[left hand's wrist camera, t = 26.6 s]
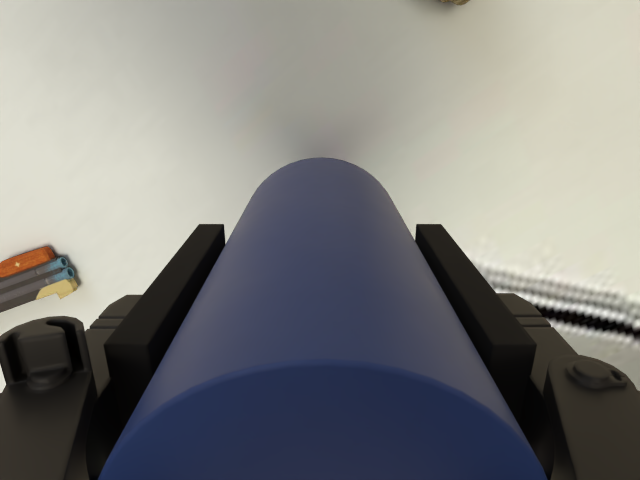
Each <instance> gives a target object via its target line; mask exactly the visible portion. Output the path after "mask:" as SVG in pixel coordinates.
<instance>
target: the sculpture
mask: <svg viewBox="0 0 640 480" xmlns="http://www.w3.org/2000/svg"><path fill="white" fill-rule="evenodd" d="M440 1H442V2H448V1H451V2H453V3H454V4H457V5H463V4H465V3H467V2H468V1H469V0H440Z"/></svg>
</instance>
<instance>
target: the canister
mask: <svg viewBox="0 0 640 480" xmlns="http://www.w3.org/2000/svg"><path fill="white" fill-rule="evenodd" d="M98 480H547V477H546V475H545V472H544V469H543V467H542V465H541V464H540V462H539V460H538V458H537V456H536V455H535V453H534V451H533V449H532V448H531V446H530V444H529V442H528V440H527V439H526V437H525V435H524V433H523V432H522V430H521V428H520V426H519V425H518V423H517V421H516V419H515V417H514V416H513V414H512V412H511V410H510V409H509V407H508V405H507V403H506V401H505V400H504V398H503V396H502V394H501V393H500V391H499V389H498V387H497V386H496V384H495V382H494V380H493V378H492V377H491V375H490V373H489V371H488V370H487V368H486V366H485V364H484V363H483V361H482V359H481V357H480V355H479V354H478V352H477V350H476V348H475V347H474V345H473V343H472V341H471V339H470V338H469V336H468V334H467V332H466V331H465V329H464V327H463V325H462V324H461V322H460V320H459V318H458V316H457V315H456V313H455V311H454V309H453V308H452V306H451V304H450V302H449V300H448V299H447V297H446V295H445V293H444V292H443V290H442V288H441V286H440V285H439V283H438V281H437V279H436V277H435V276H434V274H433V272H432V270H431V269H430V267H429V265H428V263H427V261H426V260H425V258H424V256H423V254H422V253H421V251H420V249H419V247H418V246H417V244H416V242H415V240H414V238H413V237H412V235H411V233H410V231H409V230H408V228H407V226H406V224H405V223H404V221H403V219H402V217H401V215H400V214H399V212H398V210H397V208H396V207H395V205H394V203H393V201H392V199H391V198H390V196H389V195H388V193H387V191H386V190H385V189H384V187H383V186H382V185H381V184H380V182H379V181H377V180H376V179H375V178H374V177H373V176H372V175H371V174H369V173H368V172H366V171H365V170H364V169H362V168H360V167H358V166H356V165H354V164H351V163H349V162H346V161H343V160H338V159H333V158H309V159H304V160H300V161H296V162H293V163H290V164H288V165H286V166H284V167H282V168H280V169H279V170H277V171H276V172H274V173H273V174H271V175H270V176H269V177H268V178H267V179H266V180H264V181H263V183H262V184H261V185H260V186H259V187H258V188H257V190H256V191H255V193H254V194H253V196H252V198H251V199H250V201H249V203H248V205H247V207H246V209H245V210H244V212H243V214H242V216H241V218H240V219H239V221H238V223H237V225H236V227H235V228H234V230H233V232H232V234H231V236H230V238H229V239H228V241H227V243H226V245H225V247H224V248H223V250H222V252H221V254H220V256H219V257H218V259H217V261H216V263H215V265H214V267H213V268H212V270H211V272H210V274H209V276H208V277H207V279H206V281H205V283H204V285H203V286H202V288H201V290H200V292H199V294H198V296H197V297H196V299H195V301H194V303H193V305H192V306H191V308H190V310H189V312H188V314H187V316H186V317H185V319H184V321H183V323H182V325H181V326H180V328H179V330H178V332H177V334H176V335H175V337H174V339H173V341H172V343H171V345H170V346H169V348H168V350H167V352H166V354H165V355H164V357H163V359H162V361H161V363H160V364H159V366H158V368H157V370H156V372H155V374H154V375H153V377H152V379H151V381H150V383H149V384H148V386H147V388H146V390H145V392H144V394H143V395H142V397H141V399H140V401H139V403H138V404H137V406H136V408H135V410H134V412H133V413H132V415H131V417H130V419H129V421H128V423H127V424H126V426H125V428H124V430H123V432H122V433H121V435H120V437H119V439H118V441H117V442H116V444H115V446H114V448H113V450H112V452H111V453H110V455H109V457H108V459H107V461H106V462H105V465H104V467H103V469H102V471H101V474H100V476H99V478H98Z"/></svg>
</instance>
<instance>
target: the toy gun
mask: <svg viewBox="0 0 640 480" xmlns="http://www.w3.org/2000/svg"><path fill="white" fill-rule="evenodd" d="M67 266H68V262H67V260H66V259H65V258H64V257H60V256H59V257H56V258H55V256H54V254H53V252H52V250H51V249H50V248H49V247H48V246H46V247H43V248H39V249H36V250H33V251H30V252H27V253H24V254H21V255H18V256H15V257H12V258H9V259H7V260H4V261H2V262H1V263H0V312H3V311H6V310H9V309H11V308H14V307H17V306H19V305H22V304H25V303H28V302H30V301H33V300H37V299H40V298H43V297H46V296H49V295H52V294H54V293H57V294H58V296H59V298H60V299H62V298H63V297H65V296H67V295H69V294H70V293H72V292H74V291H75V290H77V288H76V287H78V285H77V283H76V281H75V280H74V279H73V278H74V271H73V270H72V269H71V268H70V267H67ZM66 267H67V268H66Z"/></svg>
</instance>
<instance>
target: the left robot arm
mask: <svg viewBox="0 0 640 480" xmlns="http://www.w3.org/2000/svg"><path fill="white" fill-rule="evenodd" d="M415 242H416V244H417V246H418V247H419V249H420V251H421V253H422V254H423V256H424V258H425V260H426V261H427V263H428V265H429V267H430V269H431V270H432V272H433V274H434V276H435V277H436V279H437V281H438V283H439V285H440V286H441V288H442V290H443V292H444V293H445V295H446V297H447V299H448V300H449V302H450V304H451V306H452V308H453V309H454V311H455V313H456V315H457V316H458V318H459V320H460V322H461V324H462V325H463V327H464V329H465V331H466V332H467V334H468V336H469V338H470V339H471V341H472V343H473V345H474V347H475V348H476V350H477V352H478V354H479V355H480V357H481V359H482V361H483V363H484V364H485V366H486V368H487V370H488V371H489V373H490V375H491V377H492V378H493V380H494V382H495V384H496V386H497V387H498V389H499V391H500V393H501V394H502V396H503V398H504V400H505V401H506V403H507V405H508V407H509V409H510V410H511V412H512V414H513V416H514V417H515V419H516V421H517V423H518V425H519V426H520V428H521V430H522V432H523V433H524V435H525V437H526V439H527V440H528V442H529V444H530V446H531V448H532V449H533V451H534V453H535V455H536V456H537V458H538V460H539V462H540V464H541V465H542V467H543V469H544V472H545V475H546V477H547V480H640V391H637V389H636V387H635V385H634V384H633V382H632V381H631V380H630V379H629V378H628V377H627V375H626V374H624V373H623V372H621V371H620V370H618V369H617V368H615V367H614V366H612V365H610V364H608V363H605V362H603V361H601V360H598V359H595V358H591V357H587V356H583V355H578V354H577V353H576V352H575V351H574V350H573V348H572V347H571V346H570V345H569V344H568V343H567V342H566V341H565V340H564V339H563V338H562V336H561V335H560V334H559V333H558V332H557V331H556V330H555V329H554V328H553V327H551V324H550V323H549V322H548V321H547V320H546V319H545V318H544V317H542V315H541V314H540V312H539V311H538V310H537V309H536V308H535V307H534V306H533V305H532V304H531V303H530V302H528V301H526V300H524V299H523V298H521V297H519V296H517V295H516V294H514V293H496V292H495V291H494V290H493V289H492V287H491V286H490V285H489V284H488V282H487V281H486V280H485V279H484V277H483V276H482V275H481V274H480V272H479V271H478V270H477V269H476V267H475V266H474V265H473V264H472V262H471V261H470V260H469V259H468V257H467V256H466V255H465V254H464V252H463V251H462V250H461V249H460V247H459V246H458V245H457V244H456V242H455V241H454V240H453V239H452V237H451V236H450V235H449V234H448V232H447V231H446V230H445V229H444V227H443V226H442V225H441V224H416V237H415ZM224 247H225V233H224V224H199V225H198V226H197V228H196V229H195V230H194V231H193V233H192V234H191V235H190V236H189V238H188V239H187V240H186V241H185V243H184V244H183V245H182V247H181V248H180V249H179V250H178V252H177V253H176V254H175V255H174V257H173V258H172V259H171V260H170V262H169V263H168V264H167V265H166V267H165V268H164V269H163V270H162V272H161V273H160V274H159V275H158V277H157V278H156V279H155V280H154V282H153V283H152V284H151V285H150V287H149V288H148V289H147V290H146V292H145V293H144V294H143V295H126V296H124V297H122V298H121V299H119V300H117V301H115V302H114V303H112V304H110V305H109V306H108V307H107V308H106V309H105V310H104V311H103V312H102V314H101V315H100V316H99V319H96V320H95V321H94V322H93V324H92V325H91V326H90V329H87V330H86V331H84V326H83V323H82V322H81V321H80V320H78V319H77V318H73V317H67V316H55V317H46V318H41V319H37V320H32V321H30V322H27V323H24V324H21V325H19V326H16V327H14V328H13V329H11V330H9V331H7V332H6V333H4V334H2V335H1V336H0V364H1V368H2V371H3V375H4V378H5V381H6V386H5V388H4V390H3V392H2V393H0V480H98V478H99V476H100V474H101V471H102V469H103V467H104V465H105V462H106V461H107V459H108V457H109V455H110V453H111V452H112V450H113V448H114V446H115V444H116V442H117V441H118V439H119V437H120V435H121V433H122V432H123V430H124V428H125V426H126V424H127V423H128V421H129V419H130V417H131V415H132V413H133V412H134V410H135V408H136V406H137V404H138V403H139V401H140V399H141V397H142V395H143V394H144V392H145V390H146V388H147V386H148V384H149V383H150V381H151V379H152V377H153V375H154V374H155V372H156V370H157V368H158V366H159V364H160V363H161V361H162V359H163V357H164V355H165V354H166V352H167V350H168V348H169V346H170V345H171V343H172V341H173V339H174V337H175V335H176V334H177V332H178V330H179V328H180V326H181V325H182V323H183V321H184V319H185V317H186V316H187V314H188V312H189V310H190V308H191V306H192V305H193V303H194V301H195V299H196V297H197V296H198V294H199V292H200V290H201V288H202V286H203V285H204V283H205V281H206V279H207V277H208V276H209V274H210V272H211V270H212V268H213V267H214V265H215V263H216V261H217V259H218V257H219V256H220V254H221V252H222V250H223V248H224Z"/></svg>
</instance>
